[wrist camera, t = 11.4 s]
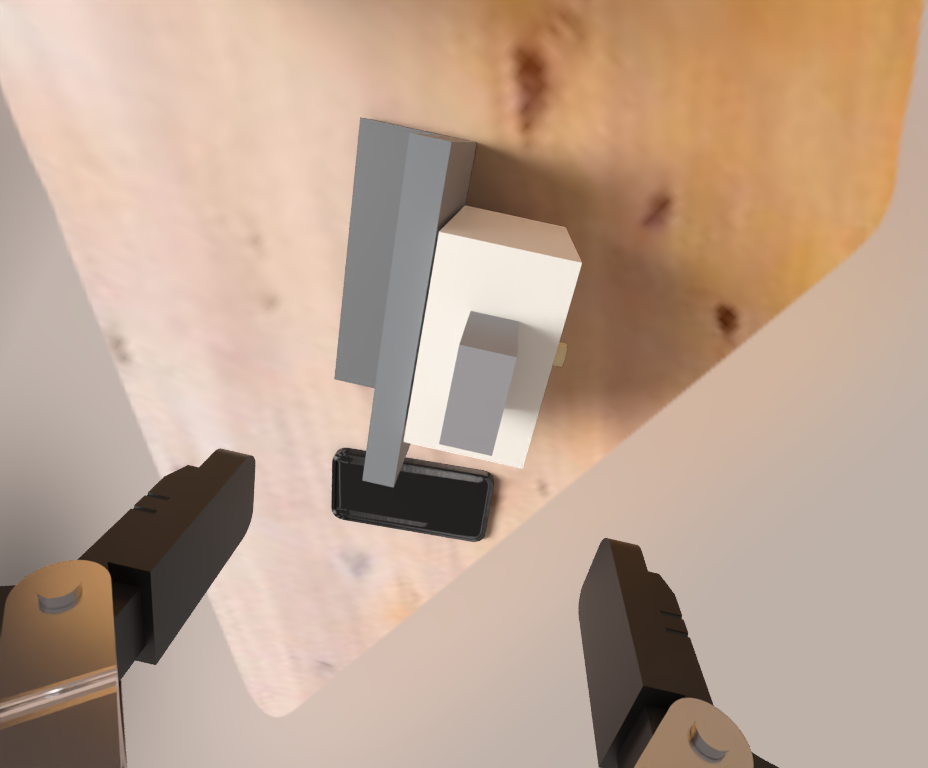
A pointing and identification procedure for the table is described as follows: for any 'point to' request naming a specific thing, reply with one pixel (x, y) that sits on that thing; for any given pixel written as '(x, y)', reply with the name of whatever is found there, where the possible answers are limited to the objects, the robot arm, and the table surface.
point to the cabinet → (491, 334)
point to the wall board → (394, 271)
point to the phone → (414, 497)
